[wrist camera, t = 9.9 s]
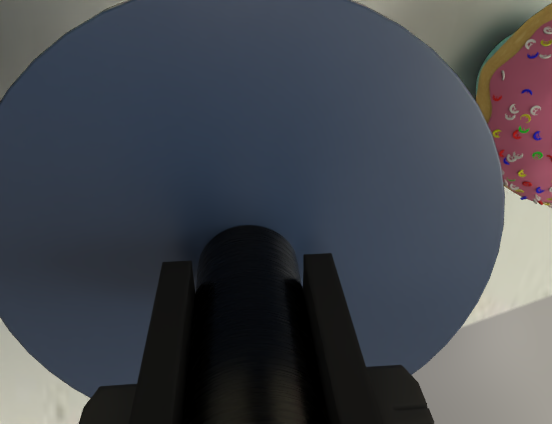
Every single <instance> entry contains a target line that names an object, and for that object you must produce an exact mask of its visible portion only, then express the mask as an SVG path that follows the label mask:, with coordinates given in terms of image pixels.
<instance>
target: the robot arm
mask: <svg viewBox="0 0 552 424" xmlns="http://www.w3.org/2000/svg"><path fill="white" fill-rule="evenodd" d="M303 293H304V298H305V303H306V308H307V313H308V318H309V323H310V328H311V333H312V339H313V344H314V349H315V354H316V359H317V364H318V369H319V374H320V379H321V385H322V390H323V395H324V400H325V405H326V410H327V415H328V420H329V424H434V420H433V418H432V415H431V413H430V410H429V409H428V408H427V403H426V401H425V398H424V396H423V393H422V391H421V388H420V386H419V383H418V382H417V381H416V380H415V379H414V378H413V376H412V375H411V374H410V373H409V372H408V371H407V370H406V369H405V368H404V367H403V366H402V365H387V366H372V367H366V365H365V362H364V358H363V355H362V352H361V349H360V345H359V342H358V339H357V335H356V332H355V329H354V325H353V322H352V319H351V316H350V312H349V309H348V306H347V302H346V299H345V296H344V292H343V289H342V286H341V283H340V279H339V276H338V273H337V269H336V266H335V263H334V260H333V256H332V253H322V254H304V259H303ZM194 303H195V286H194V277H193V269H192V261H191V260H190V261H171V262H162V267H161V272H160V277H159V281H158V286H157V291H156V296H155V300H154V305H153V310H152V315H151V320H150V324H149V329H148V334H147V339H146V343H145V348H144V353H143V358H142V362H141V367H140V372H139V377H138V382H137V384H125V385H110V386H100V387H99V388H98V389H97V391H96V392H95V393H94V395H93V396H92V397H91V399H90V400H89V401H88V402H87V404H86V405H85V406H84V408H83V412H82V415H81V418H80V421H79V424H182V423H183V413H184V403H185V393H186V383H187V373H188V363H189V353H190V343H191V333H192V323H193V313H194Z"/></svg>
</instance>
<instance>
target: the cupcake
mask: <svg viewBox="0 0 552 424" xmlns="http://www.w3.org/2000/svg"><path fill="white" fill-rule="evenodd" d="M475 101H476V102H477V103H478V105H479V107H480V109H481V111H482V114H483V116H484V118H485V120H486V122H487V124H488V126H489V128H490V130H491V133H492V135H493V138H494V142H495V145H496V149H497V152H498V156H499V159H500V163H501V168H502V176H503V185H504V186H505V187H506V188H508V189H510V190H511V191H513V192H514V193H516V194H518V195H519V196H521V199H522V200H523V199H529V200H531V201H534V203H536V204H537V202H538V203H539V204H541V205H543V204H545V205H547V206H549V207H551V208H552V206H550V205H552V3H551V4H549V5H548V6H546V7H545V8H543V9H542V10H541V11H539V12H538V13H537V14H535V15H534V16H532V17H531V18H530V19H529V20H527V21H526V22H525V23H524V24H523V25H522V26H521V27H520V28H519V29H518V30H517V31H516V32H515V33H513V34H512V35H510V36H508V37H507V38H505V39H504V40H502V41H501V42H500V43H499V44H498V45H497V46H496V47H495V48H494V49H493V50H492V51H491V52H490V53H489V55H488V56H487V58H486V59H485V61H484V63H483V64H482V66H481V69H480V71H479V74H478V77H477V82H476V100H475ZM546 203H547V204H546Z"/></svg>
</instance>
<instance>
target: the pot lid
mask: <svg viewBox="0 0 552 424" xmlns="http://www.w3.org/2000/svg"><path fill="white" fill-rule="evenodd" d="M504 204H505V193H504V185H503V176H502V168H501V163H500V159H499V156H498V152H497V149H496V145H495V142H494V138H493V135H492V133H491V130H490V128H489V126H488V124H487V122H486V120H485V118H484V116H483V114H482V111H481V109H480V107H479V105H478V103H477V102H476V101H475V99H474V98H473V96H472V95H471V93H470V92H469V90H468V89H467V88H466V86H465V85H464V83H463V82H462V80H461V79H460V78H459V76H458V75H457V74H456V73H455V72H454V71H453V70H452V69H451V68H450V67H449V66H448V65H447V64H446V62H445V61H444V60H443V59H442V58H441V57H440V56H439V55H438V54H437V53H436V52H435V51H434V50H433V49H432V48H431V47H429V46H428V45H427V44H425V43H424V42H423V41H421V40H420V39H419V38H417V37H416V36H415V35H413V34H412V33H411V32H409V31H408V30H407V29H405V28H404V27H403V26H401V25H400V24H398V23H396V22H394V21H393V20H391V19H389V18H387V17H385V16H383V15H381V14H380V13H378V12H376V11H374V10H372V9H370V8H368V7H367V6H365V5H363V4H361V3H358V2H356V1H353V0H127V1H125V2H122V3H120V4H117V5H115V6H112V7H110V8H107V9H106V10H104V11H102V12H100V13H99V14H97V15H95V16H94V17H92V18H90V19H89V20H87V21H85V22H84V23H82V24H80V25H79V26H77V27H75V28H74V29H72V30H70V31H69V32H67V33H65V34H64V35H63V36H62V37H61V38H59V39H58V40H57V41H56V42H55V43H53V44H52V45H51V46H50V47H49V48H47V49H46V50H45V51H44V52H43V53H41V54H40V55H39V56H38V57H37V58H35V59H34V60H33V61H32V62H31V63H30V65H29V66H28V67H27V68H26V69H25V70H24V71H23V73H22V74H21V75H20V76H19V77H18V78H17V80H16V81H15V82H14V83H13V84H12V85H11V86H10V88H9V89H8V90H7V92H6V93H5V95H4V97H3V98H2V100H1V102H0V318H1V319H2V320H3V322H4V323H5V325H6V326H7V328H8V329H9V331H10V332H11V333H12V334H13V336H14V337H15V338H16V339H17V340H18V341H19V342H20V344H21V345H22V346H23V347H24V348H25V349H26V350H27V352H28V353H29V354H30V355H32V356H33V357H34V358H35V359H36V360H37V361H38V362H39V363H41V364H42V365H43V366H44V367H45V368H46V369H47V370H48V371H49V372H51V373H52V374H54V375H55V376H56V377H58V378H59V379H61V380H62V381H64V382H65V383H66V384H68V385H69V386H71V387H72V388H74V389H75V390H77V391H79V392H81V393H83V394H84V395H86V396H88V397H90V398H91V397H92V396H93V395H94V393H95V392H96V391H97V389H98V388H99V387H100V386H110V385H125V384H137V382H138V377H139V372H140V367H141V362H142V358H143V353H144V348H145V343H146V339H147V334H148V329H149V324H150V320H151V315H152V310H153V305H154V300H155V296H156V291H157V286H158V281H159V277H160V272H161V267H162V262H171V261H190V260H191V261H192V269H193V277H194V286H195V303H194V313H193V323H192V333H191V343H190V353H189V363H188V373H187V383H186V393H185V403H184V413H183V423H182V424H329V420H328V415H327V410H326V405H325V400H324V395H323V390H322V385H321V379H320V374H319V369H318V364H317V359H316V354H315V349H314V344H313V339H312V333H311V328H310V323H309V318H308V313H307V308H306V303H305V298H304V293H303V259H304V254H322V253H332V256H333V260H334V263H335V266H336V269H337V273H338V276H339V279H340V283H341V286H342V289H343V292H344V296H345V299H346V302H347V306H348V309H349V312H350V316H351V319H352V322H353V325H354V329H355V332H356V335H357V339H358V342H359V345H360V349H361V352H362V355H363V358H364V362H365V365H366V367H372V366H387V365H402V366H403V367H404V368H405V369H406V370H407V371H408V372H409V373H410V374H411V375H412V374H413V373H415V372H416V371H417V370H419V369H420V368H421V367H423V366H424V365H425V364H426V363H427V362H428V361H430V359H432V358H433V357H434V356H435V355H436V354H437V353H438V352H439V351H440V350H441V349H442V348H443V347H444V346H445V345H446V344H447V343H448V342H449V341H450V339H451V338H452V337H453V336H454V335H455V334H456V332H457V331H458V330H459V329H460V328H461V327H462V325H463V324H464V322H465V321H466V319H467V318H468V316H469V315H470V313H471V312H472V310H473V309H474V307H475V306H476V304H477V303H478V301H479V299H480V297H481V295H482V293H483V291H484V289H485V287H486V285H487V283H488V281H489V279H490V276H491V273H492V270H493V267H494V264H495V261H496V258H497V255H498V252H499V247H500V242H501V236H502V231H503V226H504Z"/></svg>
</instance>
